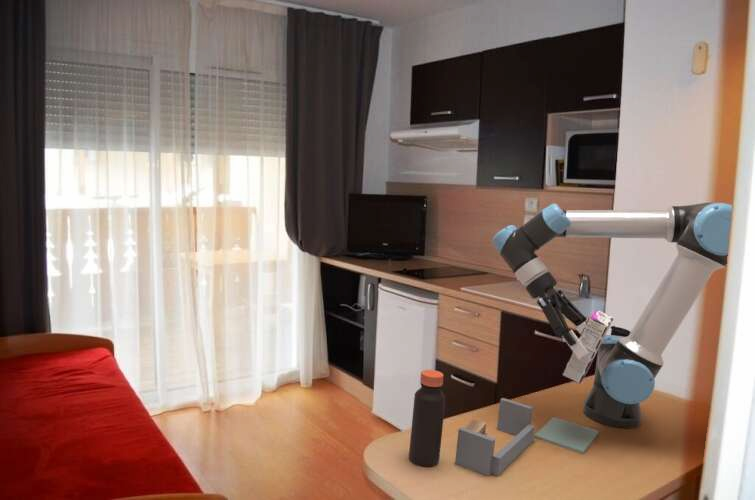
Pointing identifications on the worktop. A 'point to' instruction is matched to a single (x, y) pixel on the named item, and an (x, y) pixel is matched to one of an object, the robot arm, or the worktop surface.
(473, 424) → the offcut stack
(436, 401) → the bottle
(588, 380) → the worktop surface
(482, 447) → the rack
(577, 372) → the candy bar box
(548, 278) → the robot arm
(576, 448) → the mat
